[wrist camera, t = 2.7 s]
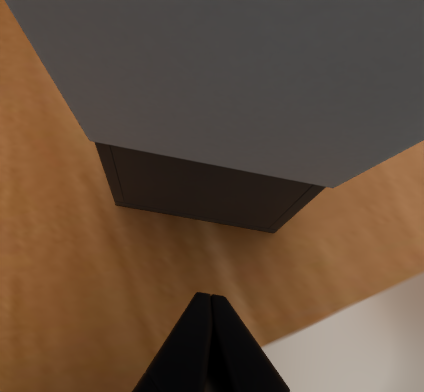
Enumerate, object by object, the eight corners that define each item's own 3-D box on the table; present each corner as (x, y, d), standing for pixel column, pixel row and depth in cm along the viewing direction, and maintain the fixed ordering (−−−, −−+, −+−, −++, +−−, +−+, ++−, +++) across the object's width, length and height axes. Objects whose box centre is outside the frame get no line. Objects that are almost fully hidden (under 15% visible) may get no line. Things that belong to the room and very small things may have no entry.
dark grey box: (152, 75, 29) (150, -22, 21) (280, 102, 30) (323, 20, 22) (115, 205, 23) (93, 139, 16) (274, 233, 25) (329, 185, 17)
